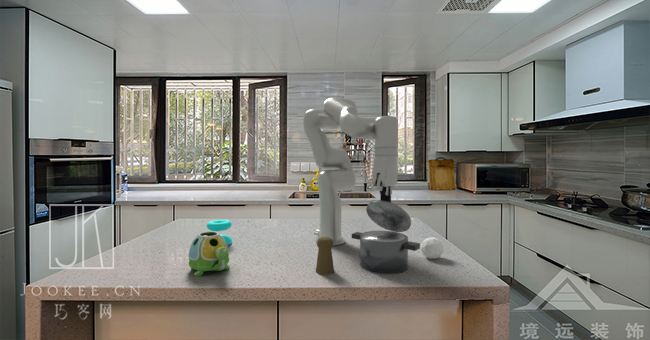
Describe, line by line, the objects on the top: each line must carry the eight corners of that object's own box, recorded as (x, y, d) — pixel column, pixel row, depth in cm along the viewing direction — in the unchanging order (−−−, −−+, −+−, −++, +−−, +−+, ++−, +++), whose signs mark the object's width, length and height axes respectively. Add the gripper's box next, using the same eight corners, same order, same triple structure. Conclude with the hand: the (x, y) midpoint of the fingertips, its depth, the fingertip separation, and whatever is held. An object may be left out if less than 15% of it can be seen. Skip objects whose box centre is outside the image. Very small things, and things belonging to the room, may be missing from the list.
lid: (359, 200, 106) (362, 194, 108) (375, 228, 115) (377, 223, 116) (402, 204, 96) (405, 198, 98) (415, 235, 105) (418, 229, 106)
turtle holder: (204, 285, 88) (203, 244, 87) (182, 268, 101) (182, 233, 101) (243, 274, 96) (243, 236, 96) (218, 260, 110) (218, 227, 109)
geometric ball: (427, 263, 114) (422, 243, 118) (448, 259, 110) (442, 238, 115) (420, 258, 108) (415, 237, 113) (442, 253, 105) (437, 231, 109)
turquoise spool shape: (201, 222, 127) (221, 218, 136) (201, 245, 128) (221, 240, 136) (217, 224, 122) (236, 220, 130) (217, 249, 122) (236, 243, 131)
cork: (332, 275, 95) (332, 240, 95) (313, 273, 96) (313, 239, 96) (335, 268, 101) (335, 235, 101) (317, 267, 102) (317, 234, 102)
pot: (341, 263, 106) (341, 235, 105) (366, 252, 118) (366, 227, 118) (406, 281, 90) (406, 248, 90) (426, 266, 103) (427, 237, 102)
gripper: (386, 153, 112) (386, 203, 112) (364, 152, 100) (364, 208, 101) (405, 153, 107) (405, 205, 108) (385, 152, 95) (384, 210, 96)
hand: (385, 206), depth 104 cm, fingers closed
